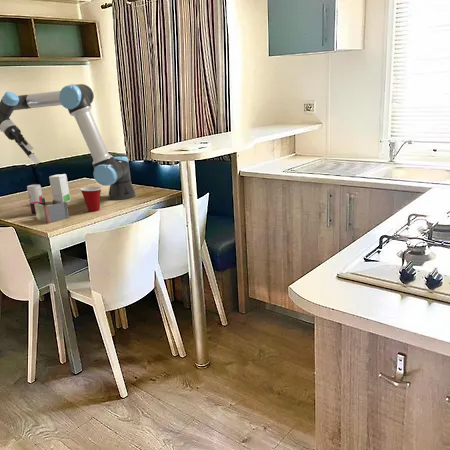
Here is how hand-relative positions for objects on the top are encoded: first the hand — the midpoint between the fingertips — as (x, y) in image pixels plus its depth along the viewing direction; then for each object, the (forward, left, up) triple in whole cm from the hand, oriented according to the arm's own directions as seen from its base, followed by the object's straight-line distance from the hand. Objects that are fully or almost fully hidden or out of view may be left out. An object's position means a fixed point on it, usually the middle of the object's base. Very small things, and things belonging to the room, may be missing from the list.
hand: (34, 156), depth 250 cm
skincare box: (-4, -11, -28) cm, 31 cm away
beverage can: (-5, +11, -28) cm, 31 cm away
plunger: (-15, +18, -28) cm, 36 cm away
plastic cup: (-33, +4, -28) cm, 43 cm away
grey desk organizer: (-19, +19, -28) cm, 39 cm away
